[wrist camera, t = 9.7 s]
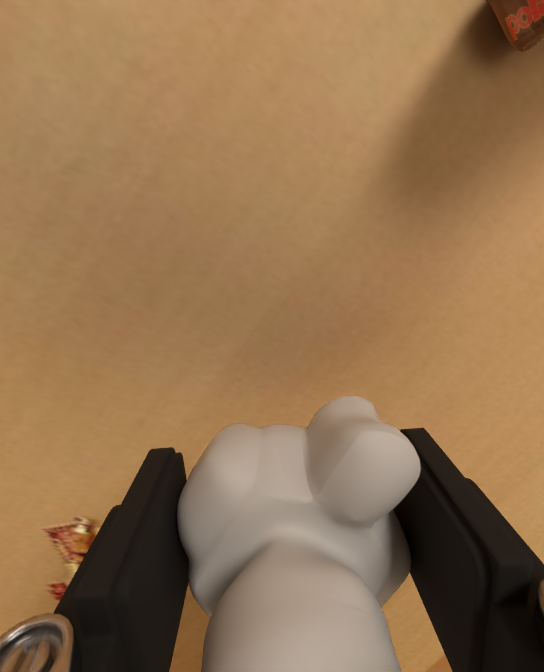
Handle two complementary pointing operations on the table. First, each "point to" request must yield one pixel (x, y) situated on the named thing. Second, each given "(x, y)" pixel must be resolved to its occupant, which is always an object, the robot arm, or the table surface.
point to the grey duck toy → (299, 541)
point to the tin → (520, 21)
